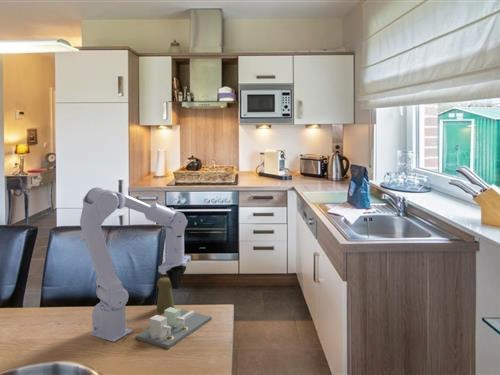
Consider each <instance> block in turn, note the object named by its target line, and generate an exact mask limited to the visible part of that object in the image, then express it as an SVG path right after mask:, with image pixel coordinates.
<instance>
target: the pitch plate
mask: <svg viewBox="0 0 500 375" xmlns="http://www.w3.org/2000/svg"><path fill="white" fill-rule="evenodd" d="M180 310H181V318H185V321H184V328H182V321H181V322H180V323H178V324H177V325H175V326H174V325H170V324H167V317H164V315H163V316H162V315H160V314H159V315H158V314H155V315H154V316H151V317H150V318H149V328H147V329H145V330H144V331H142V332H140V333H138V334H136V335H135V339H136V340H139V341H140V342H141V341H142V342H145V343H148V344H152V345H155V346H159V347H161V348H165V349H168V350H169V349H171V348H173V347H174V346H175V345H176V344H178V343H180V342H181V341H182V340H184V339H185V338H187V337H188V336H190V335H191V334H193V333H194V332H196V331H197V330H199V329H200V328H202V327H203V326H204V325H206V324H208V323H209V322H211V321H212V316H210V315H206V314H201V313H198V312H195V310H190V311H189V310H185V309H181V308H180Z"/></svg>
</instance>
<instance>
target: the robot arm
mask: <svg viewBox="0 0 500 375" xmlns="http://www.w3.org/2000/svg"><path fill="white" fill-rule="evenodd" d="M124 208H127V209H131V210H133V211H136V212H139V213H142V214H144V218H145V219H146V220H148V221H150V222H153V223H156V224H158V225H161V226H164V227H165V254H166V255H165V256H166V258H165V259H166V260H165V261H163V263H162V264H160V265H159V266H158V273H160V274H165V273H166V275H167V278H169V279H170V282H171V286H172V288H171V289H173V290H174V289H175V290H178V289H180V287H181V283H182V278H183V276H184V274H185V272H186V270H187V266H186V265H187V264H188V263H190V262H192V256H191V255H187V254H185V229H186V227H187V226H188V222H189V220H188V219H187V218H186V215H185V214H184V213H183V212H180V211H177V210H175V208H173V207H171V206H170V207H167V206H166V205H165V206H164V204H163V203H162V202H160V201H156V202H154V201H152V202H149V203H146V202H143V201H142V200H139V199H137V198H135V197H133V196H130V195H128V194H125V193H123V192H118V191H113V190H110V189H103V188H102V187H99V186H98V187H97V186H96V187H93V188H91V189H89V190H88V191H87V193H86V194H85V196H84V197H83V199H82V210H81V215H80V217H79V218H80V220H79V226H80V228H81V231H82V234H83V237H84V240H85V243H86V247H87V250H88V253H89V256H90V258H91V262H92V266H93V268H94V272H95V275H96V277H97V279H96V280H95V283H96V290H95V291H96V292H95V293H96V296H97V298H98V299H99V300H100V302H98V303H97V304H96V305H95V306H94V307H93V309H92V313H91V314H92V315H91V320H92V321H91V322H92V332H90V336H93V337H96V338H100V339H103V340H106V341H109V342H112V343H113V342H116V341H118V340H120V339H121V338H123V337H125V336H127V335H128V334H130V333H132V332H133V329H131V328H128V327H127V326H126V323H127V322H126V304H128V303H127V302H129V301H128V300H129V292H128V290H127V289H125V288H124V286H123V284H122V283H123V282H122V281H121V280H120V278H119V277H118V275H117V273H116V271H115V267H114V264H113V263H114V262H113V261H112V257H111V254H110V251H109V248H108V245H107V242H106V239H105V236H104V235H105V234H104V231H103V229H102V225H103V223H104V221H105V220H107V218H109V217H110V216H111V215H112V214H113V213H114V212H116V210H117V209H118V210H122V209H124Z"/></svg>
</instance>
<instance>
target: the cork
mask: <svg viewBox="0 0 500 375" xmlns="http://www.w3.org/2000/svg"><path fill="white" fill-rule="evenodd" d="M156 282H157V283H156V286H157V288H158V294H157V304H156V312H157V313H159V314H164V310H166V309H168V308H169V307H172V308H175V304H174V297H173V291H172V289H173V288H172V286H171V282H170V279H169V277H160V278H159V279H158V280H157V281H156Z"/></svg>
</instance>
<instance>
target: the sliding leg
mask: <svg viewBox="0 0 500 375" xmlns="http://www.w3.org/2000/svg"><path fill="white" fill-rule="evenodd" d="M163 314H164V315H163V317H167V324H170V325H174V326H175V325H177V324H178V323H180V322H181V321H182V328H184V321H185V318H181V308H176V307H174V308H172V307H169V308H168V309H166V310H164V313H163Z"/></svg>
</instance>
